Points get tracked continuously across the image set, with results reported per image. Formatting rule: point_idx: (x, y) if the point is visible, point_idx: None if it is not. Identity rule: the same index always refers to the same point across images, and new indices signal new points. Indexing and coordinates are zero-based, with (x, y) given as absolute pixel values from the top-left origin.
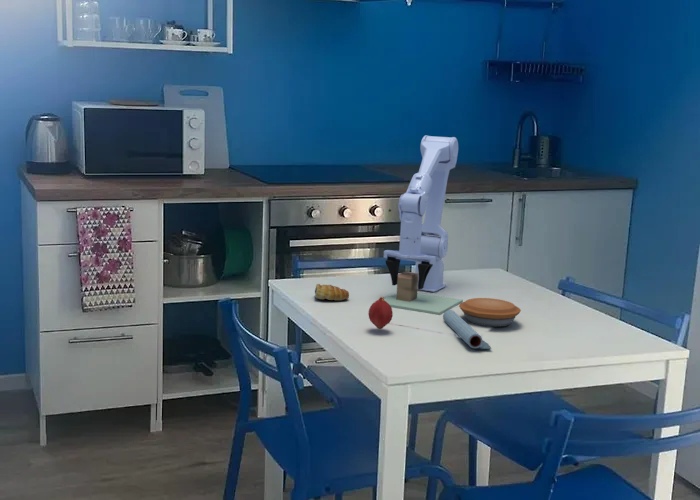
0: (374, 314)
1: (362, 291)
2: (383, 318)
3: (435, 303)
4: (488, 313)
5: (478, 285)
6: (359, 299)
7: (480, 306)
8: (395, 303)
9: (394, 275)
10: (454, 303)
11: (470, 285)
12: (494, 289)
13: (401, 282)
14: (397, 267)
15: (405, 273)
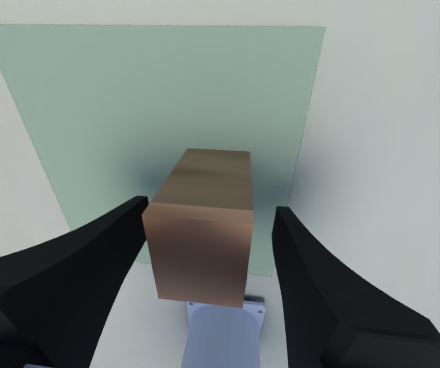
0: None
1: (418, 230)
2: None
3: (103, 175)
4: None
5: (153, 364)
6: (430, 90)
7: None
8: (226, 73)
9: (289, 245)
10: (64, 207)
11: (164, 361)
12: (114, 351)
13: (224, 191)
14: (290, 320)
15: (218, 269)
